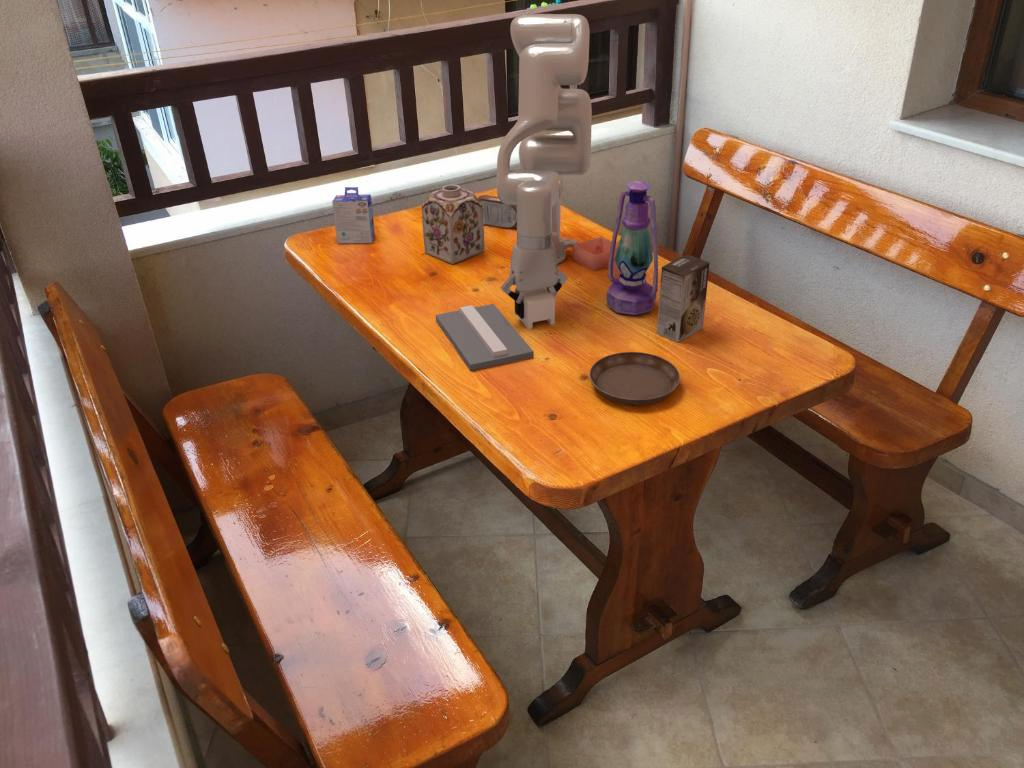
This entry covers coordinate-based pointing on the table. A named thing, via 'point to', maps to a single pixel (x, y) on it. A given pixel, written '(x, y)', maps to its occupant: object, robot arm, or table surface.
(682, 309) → the coffee box
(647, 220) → the lantern
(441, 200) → the decorative jar
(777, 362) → the table surface
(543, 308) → the block
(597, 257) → the pottery
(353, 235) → the ink cartridge box
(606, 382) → the plant saucer
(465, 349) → the rail board
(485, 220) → the tin
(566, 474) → the table surface
